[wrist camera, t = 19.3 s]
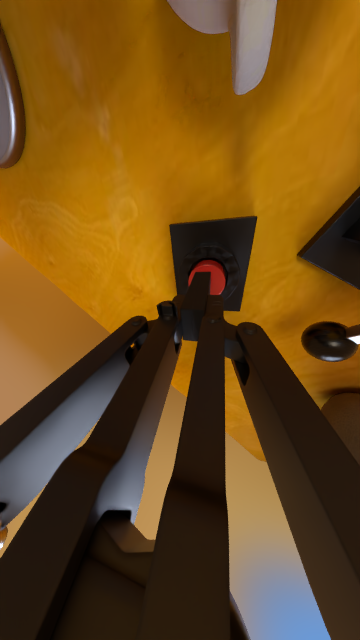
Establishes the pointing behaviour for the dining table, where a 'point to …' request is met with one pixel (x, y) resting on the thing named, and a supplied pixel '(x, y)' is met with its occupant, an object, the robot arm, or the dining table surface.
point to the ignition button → (216, 275)
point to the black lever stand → (338, 243)
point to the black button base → (214, 253)
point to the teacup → (235, 32)
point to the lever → (331, 341)
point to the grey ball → (345, 420)
